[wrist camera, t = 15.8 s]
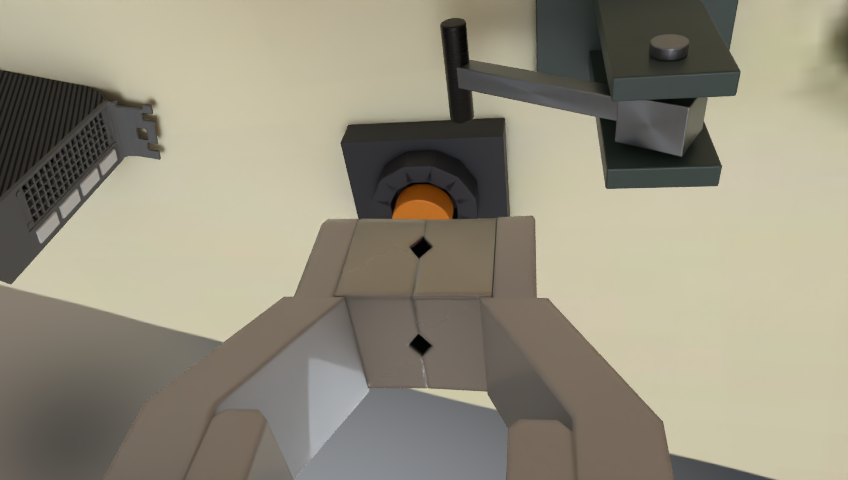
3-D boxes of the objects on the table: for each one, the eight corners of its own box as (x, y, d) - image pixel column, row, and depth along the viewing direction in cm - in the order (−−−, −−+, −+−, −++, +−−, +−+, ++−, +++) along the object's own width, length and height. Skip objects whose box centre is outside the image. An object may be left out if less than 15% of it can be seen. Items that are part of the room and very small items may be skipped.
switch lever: (465, 105, 34) (439, 126, 33) (456, 11, 31) (427, 30, 29) (697, 157, 28) (677, 186, 26) (716, 46, 25) (694, 72, 23)
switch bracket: (537, 86, 38) (537, 219, 28) (535, -58, 33) (534, 43, 23) (718, 76, 36) (785, 215, 26) (745, -78, 31) (840, 23, 21)
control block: (370, 222, 46) (358, 259, 43) (348, 124, 41) (333, 158, 38) (510, 220, 44) (508, 258, 41) (504, 117, 40) (502, 152, 36)
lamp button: (401, 229, 42) (396, 247, 40) (392, 183, 39) (387, 200, 38) (456, 229, 41) (453, 246, 40) (450, 182, 39) (447, 199, 37)
